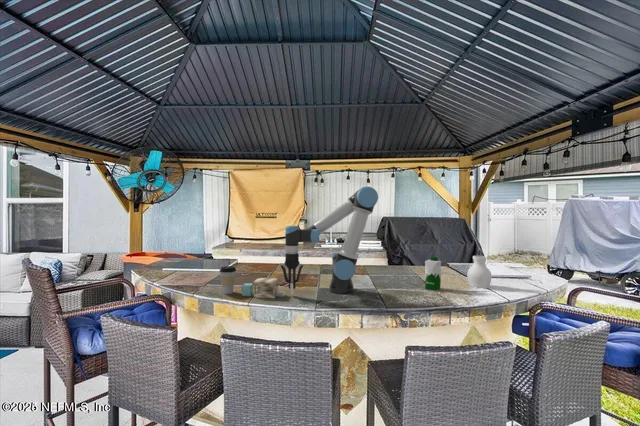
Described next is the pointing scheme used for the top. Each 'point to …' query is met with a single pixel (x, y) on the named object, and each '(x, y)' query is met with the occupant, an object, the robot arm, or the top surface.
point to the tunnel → (266, 287)
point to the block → (247, 289)
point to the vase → (479, 273)
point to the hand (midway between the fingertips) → (292, 294)
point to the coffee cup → (227, 279)
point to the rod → (269, 292)
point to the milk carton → (432, 274)
